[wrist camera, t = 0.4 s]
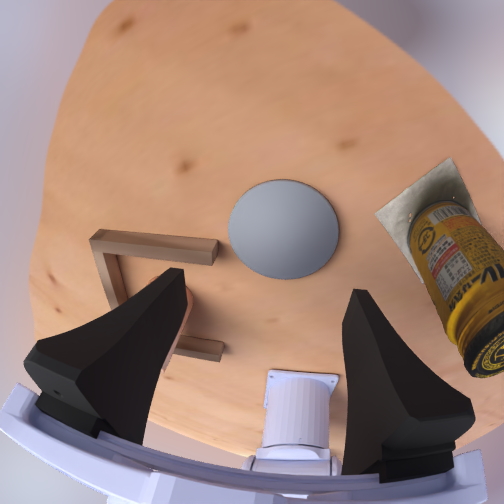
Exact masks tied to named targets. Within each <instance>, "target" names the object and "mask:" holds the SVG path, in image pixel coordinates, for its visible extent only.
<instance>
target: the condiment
mask: <svg viewBox="0 0 504 504" xmlns="http://www.w3.org/2000/svg"><path fill="white" fill-rule="evenodd" d="M453 197H455V198H454V199H453ZM410 213H411V217H409V214H410ZM375 215H376V217H377V218H378V219H379V221H380V222H381V224H382V225H383V226H384V228H385V229H386V230H387V232H388V233H389V235H390V236H391V237H392V239H393V240H394V242H395V243H396V244H397V246H398V247H399V249H400V250H401V252H402V253H403V254H404V256H405V257H406V259H407V260H408V262H409V263H410V265H411V266H412V268H413V269H414V271H415V273H416V274H417V276H418V277H419V279H420V280H421V282H422V284H424V283H425V285H426V287H427V290H428V292H429V294H430V296H431V299H432V301H433V303H434V305H435V306H436V309H437V312H438V315H439V316H440V319H441V321H442V324H443V328H444V330H445V333H446V334H447V336H448V338H449V340H450V341H451V342H452V343H453V344H455V345H457V347H458V351H459V353H460V355H461V356H462V358H463V360H464V366H465V368H466V370H467V371H468V372H469V374H470V375H471V376H472V377H478V378H487V377H491V376H494V375H497V374H499V373H501V372H504V250H503V249H502V248H501V247H500V246H499V245H498V243H497V242H496V241H495V240H494V239H493V238H492V236H491V235H490V234H489V233H488V232H487V231H486V229H484V227H483V226H482V224H481V222H480V219H479V217H478V215H477V212H476V210H475V207H474V205H473V203H472V200H471V198H470V195H469V193H468V191H467V189H466V187H465V185H464V183H463V181H462V179H461V177H460V175H459V173H458V170H457V168H456V166H455V165H454V163H453V161H452V159H451V157H449V158H448V159H447V160H445V161H444V162H443V163H441V164H439V165H438V166H437V167H435V168H434V169H433V170H431V171H430V172H429V173H428V174H426V175H425V176H423V177H422V178H420V179H419V180H418V181H417V182H415V183H414V184H413V185H411V186H410V187H409V188H407V189H405V190H404V191H403V192H402V193H401V194H400V195H399V196H397V197H396V198H395V199H393V200H392V201H390V202H389V203H388V204H387V205H385V206H384V207H383V208H381V209H380V210H379V211H377V212H376V213H375ZM409 219H411V222H409Z"/></svg>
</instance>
